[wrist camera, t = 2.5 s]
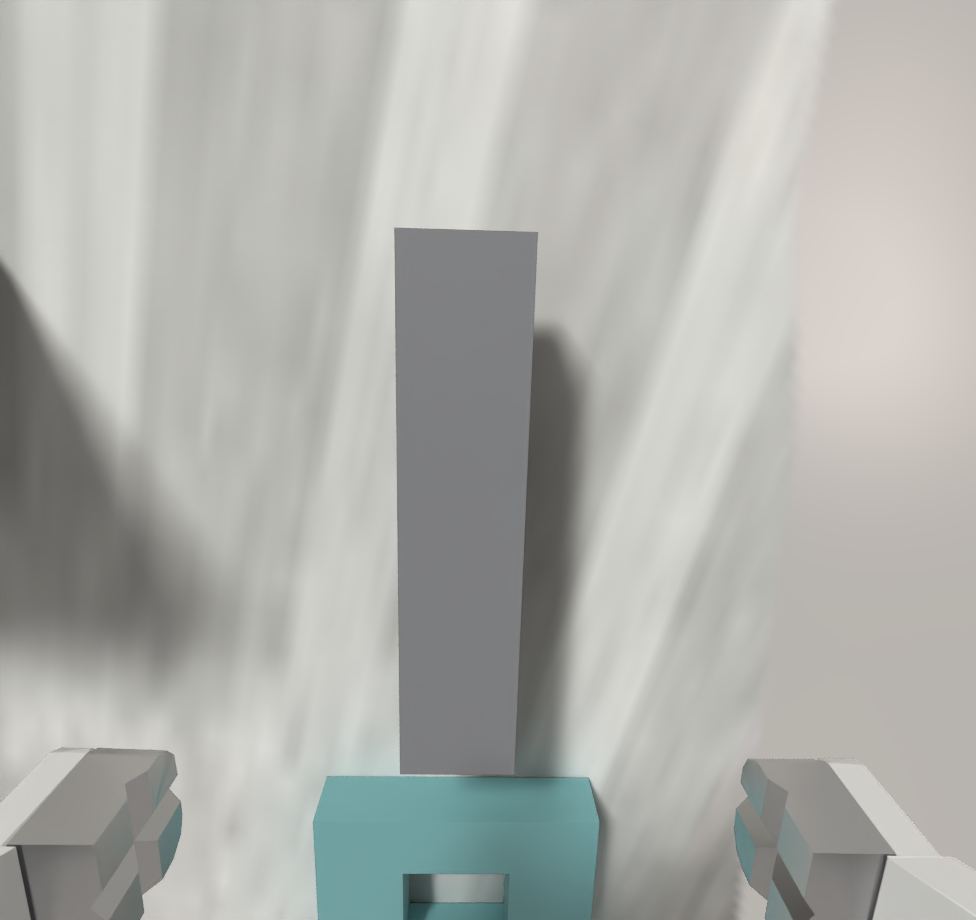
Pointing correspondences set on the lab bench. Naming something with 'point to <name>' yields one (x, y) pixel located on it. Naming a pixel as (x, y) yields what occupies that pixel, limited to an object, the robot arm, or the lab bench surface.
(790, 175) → the lab bench surface
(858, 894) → the robot arm
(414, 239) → the pin bar
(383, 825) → the mounting plate
